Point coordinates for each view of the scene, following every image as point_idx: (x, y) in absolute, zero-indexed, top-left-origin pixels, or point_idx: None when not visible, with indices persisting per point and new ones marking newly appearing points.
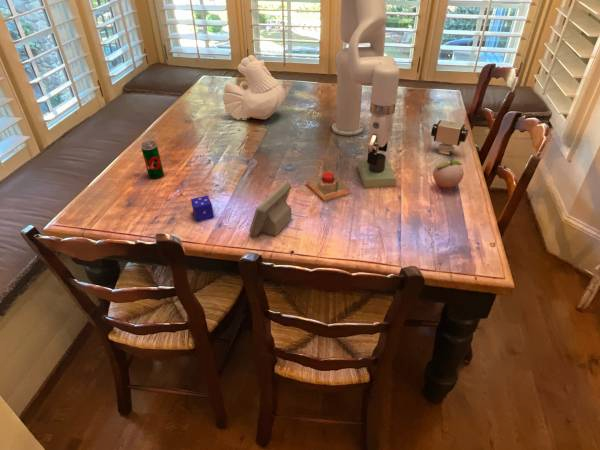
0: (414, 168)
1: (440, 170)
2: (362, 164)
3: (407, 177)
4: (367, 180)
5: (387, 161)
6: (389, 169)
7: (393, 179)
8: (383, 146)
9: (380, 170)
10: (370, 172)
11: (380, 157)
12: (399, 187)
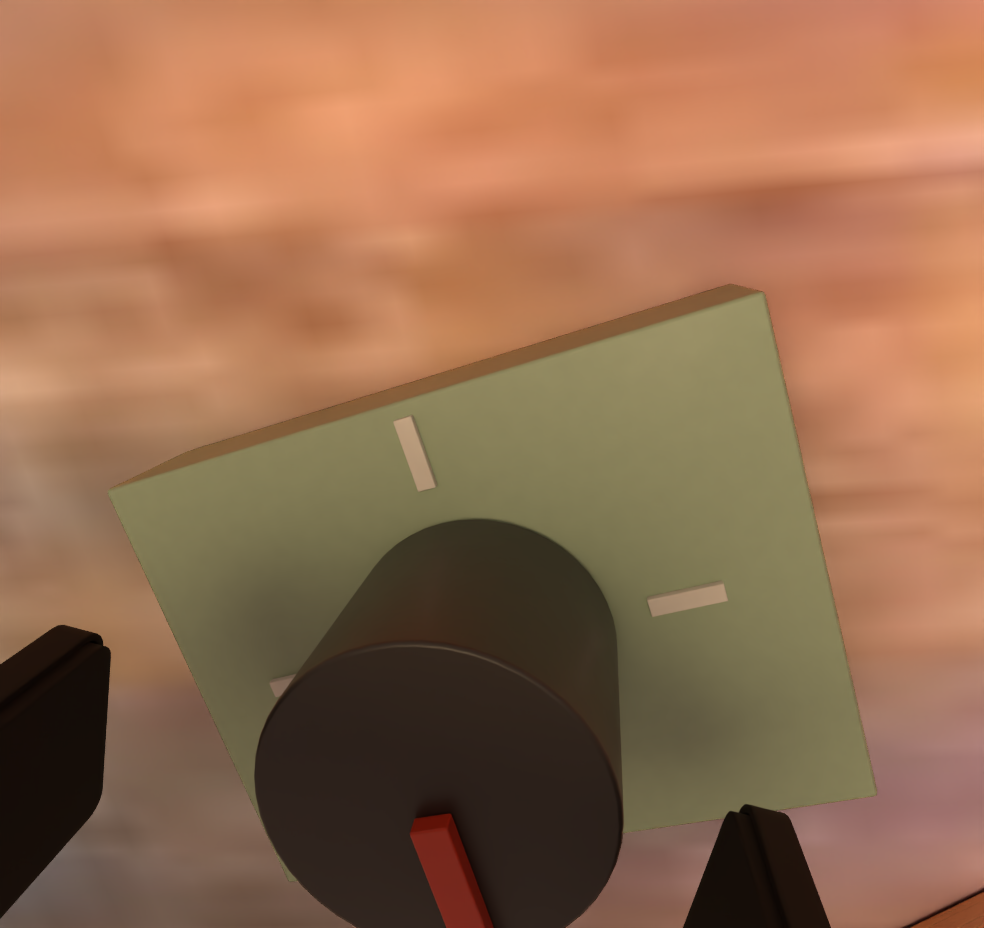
0: (84, 3)
1: None
2: None
3: (404, 98)
4: (864, 750)
5: (183, 482)
6: (449, 433)
7: (771, 334)
8: (20, 776)
9: (595, 599)
10: (624, 726)
11: (458, 759)
12: (755, 205)
